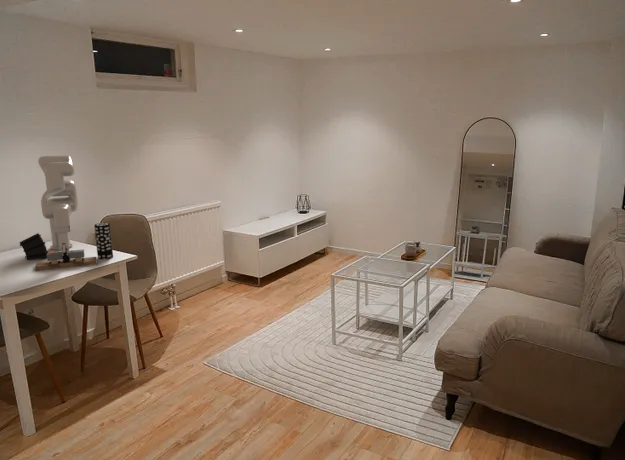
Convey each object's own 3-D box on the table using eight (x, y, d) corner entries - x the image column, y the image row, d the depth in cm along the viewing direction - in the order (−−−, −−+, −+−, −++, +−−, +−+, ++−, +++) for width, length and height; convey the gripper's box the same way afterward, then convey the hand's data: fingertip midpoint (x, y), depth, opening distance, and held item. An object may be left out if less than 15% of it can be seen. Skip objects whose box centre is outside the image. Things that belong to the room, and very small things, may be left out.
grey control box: (49, 263, 265) (47, 251, 263) (84, 259, 272) (83, 248, 270) (48, 265, 261) (46, 253, 259) (84, 261, 268) (83, 250, 266)
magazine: (52, 256, 279) (37, 234, 274) (31, 266, 278) (15, 244, 273) (54, 254, 283) (39, 232, 278) (33, 264, 281) (17, 243, 276)
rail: (37, 266, 265) (36, 262, 264) (96, 260, 276) (96, 256, 276) (35, 270, 258) (34, 266, 257) (96, 264, 269) (96, 260, 268)
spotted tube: (96, 259, 278) (92, 226, 273) (99, 255, 286) (96, 223, 281) (111, 259, 279) (108, 225, 275) (114, 255, 287) (111, 222, 283)
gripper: (56, 226, 268) (60, 258, 272) (53, 233, 253) (57, 266, 257) (71, 225, 271) (75, 256, 275) (69, 232, 256) (73, 264, 260)
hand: (66, 261), depth 266 cm, fingers closed on grey control box, 4 cm apart
